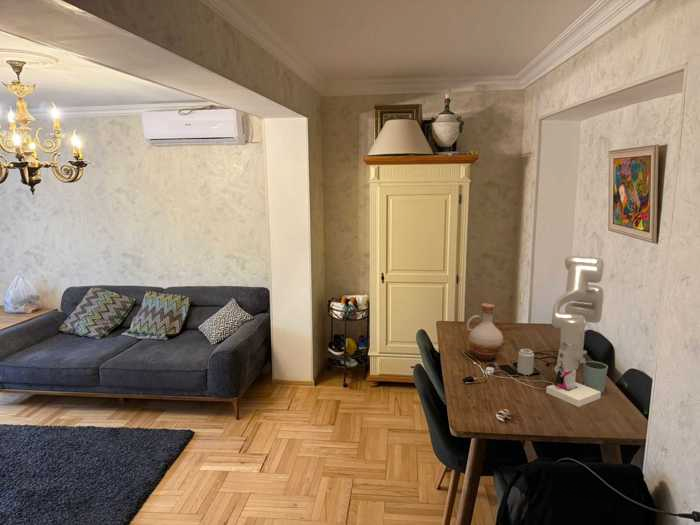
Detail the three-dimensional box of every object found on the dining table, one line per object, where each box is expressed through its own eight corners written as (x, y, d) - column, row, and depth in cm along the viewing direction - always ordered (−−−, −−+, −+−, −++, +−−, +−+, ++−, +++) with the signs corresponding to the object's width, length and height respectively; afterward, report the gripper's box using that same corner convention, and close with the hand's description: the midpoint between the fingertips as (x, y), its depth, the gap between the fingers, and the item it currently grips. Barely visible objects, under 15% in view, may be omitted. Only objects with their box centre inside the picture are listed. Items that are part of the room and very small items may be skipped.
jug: (462, 360, 257) (464, 306, 251) (467, 349, 273) (469, 298, 268) (500, 365, 250) (503, 310, 244) (503, 354, 266) (506, 302, 260)
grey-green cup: (596, 395, 216) (598, 370, 213) (576, 387, 224) (578, 362, 222) (610, 391, 220) (612, 366, 218) (590, 382, 229) (592, 359, 227)
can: (532, 371, 243) (534, 348, 240) (533, 377, 236) (534, 354, 234) (517, 369, 245) (518, 347, 243) (517, 375, 238) (518, 352, 236)
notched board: (568, 385, 226) (568, 379, 226) (600, 398, 213) (600, 391, 212) (546, 392, 218) (546, 386, 218) (578, 407, 205) (578, 400, 204)
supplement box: (567, 388, 222) (569, 365, 220) (574, 394, 217) (576, 370, 215) (555, 389, 222) (557, 366, 220) (562, 395, 216) (564, 371, 214)
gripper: (564, 351, 208) (561, 388, 211) (588, 344, 216) (585, 380, 219) (549, 346, 214) (546, 382, 217) (573, 339, 223) (570, 374, 226)
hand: (565, 381), depth 218 cm, fingers open, 8 cm apart
